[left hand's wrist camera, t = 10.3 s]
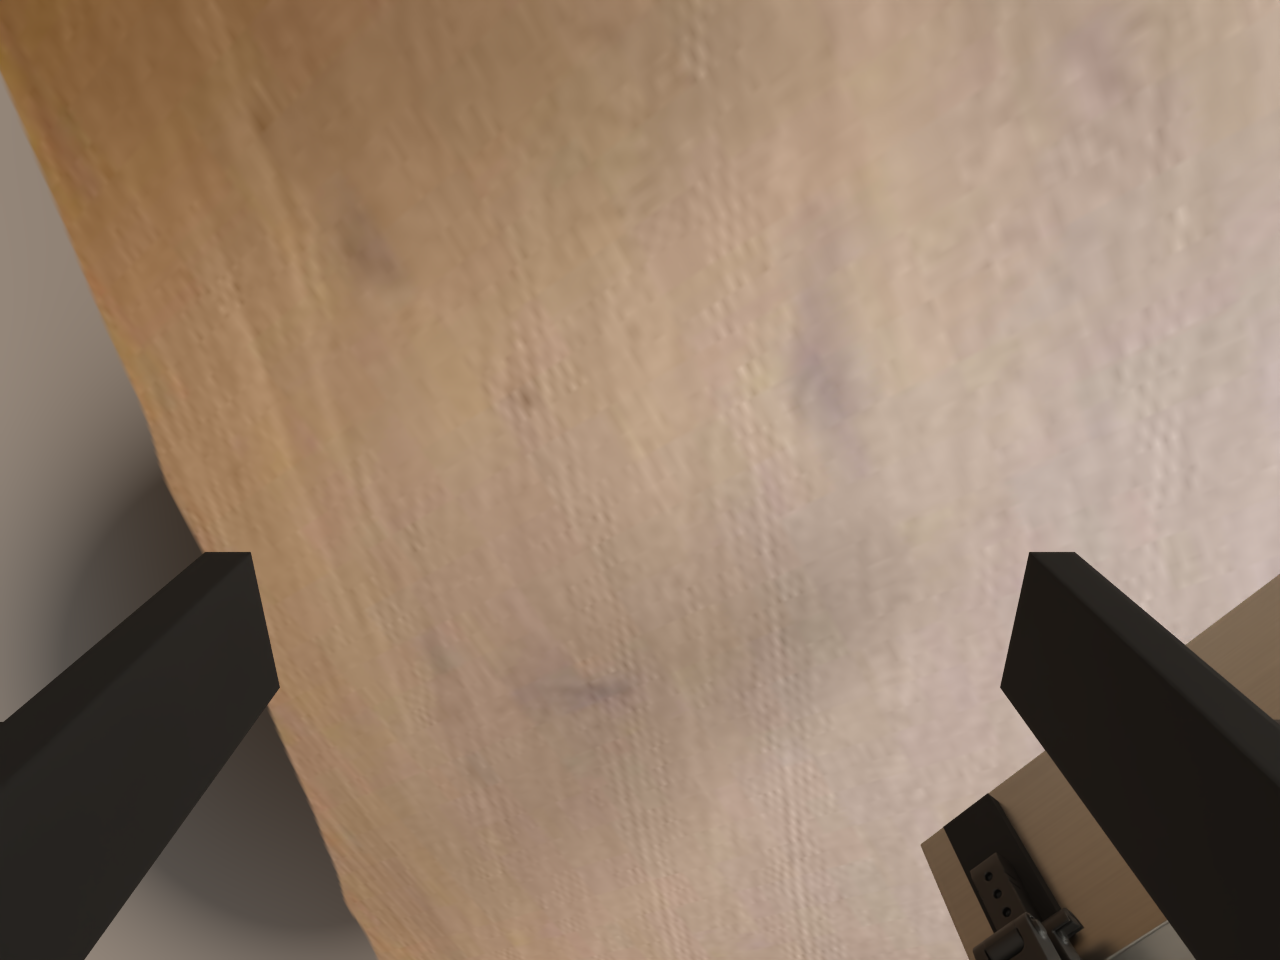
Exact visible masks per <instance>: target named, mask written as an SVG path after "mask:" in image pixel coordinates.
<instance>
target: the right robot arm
mask: <svg viewBox="0 0 1280 960" xmlns="http://www.w3.org/2000/svg"><path fill="white" fill-rule="evenodd" d="M943 828H944V830H945V832H946V834H947V836H948V839H949V841H950V843H951V845H952V847H953V849H954V851H955V853H956V855H957V857H958V859H959V862H960V864H961V866H962V868H963V870H964V872H965V874H966V876H967V878H968V880H969V882H970V885H971V887H972V889H973V891H974V893H975V895H976V897H977V899H978V901H979V903H980V905H981V908H982V910H983V912H984V914H985V916H986V918H987V920H988V922H989V924H990V926H991V929H992V931H993V933H994V934H992V935H991V936H989V937H988V938H986V939H985V940H984V941H982V942H981V943H980V944H978V945H977V946H975V947H974V948H973V954H974V957H975V960H1081V958H1080V956H1079V955H1078V953H1077V952H1076V950H1075V949H1074V947H1073V946H1072V944H1071V943H1070V941H1069V938H1070V937H1071V936H1073V935H1074V934H1076V933H1077V932H1079V931H1081V930H1082V929H1084V927H1083V925H1082V924H1081V923H1080V921H1079V920H1078V919H1077V918H1076V917H1075V915H1074V914H1073V913H1072V912H1071V911H1070V910H1068V909H1067V908H1062V909H1061V907H1060V906H1059V904H1058V902H1057V901H1056V899H1055V897H1054V895H1053V894H1052V892H1051V890H1050V889H1049V887H1048V885H1047V884H1046V882H1045V880H1044V878H1043V877H1042V875H1041V873H1040V872H1039V870H1038V868H1037V867H1036V865H1035V863H1034V861H1033V860H1032V858H1031V856H1030V855H1029V853H1028V851H1027V850H1026V848H1025V846H1024V844H1023V843H1022V841H1021V839H1020V838H1019V836H1018V834H1017V833H1016V831H1015V829H1014V827H1013V826H1012V824H1011V822H1010V821H1009V819H1008V817H1007V816H1006V814H1005V812H1004V810H1003V809H1002V807H1001V805H1000V804H999V802H998V801H997V800H996V799H995V798H993V797H992V796H991V795H990V794H986V795H985V796H984V797H982V798H981V799H980V800H978V801H977V802H976V803H974V804H973V805H972V806H970V807H969V808H968V809H966V810H965V811H964V812H962V813H961V814H960V815H959V816H957V817H956V818H955V819H953V820H952V821H951V822H949V823H948V824H947V825H945V826H944V827H943Z"/></svg>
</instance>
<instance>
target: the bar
mask: <svg viewBox="0 0 1280 960" xmlns="http://www.w3.org/2000/svg"><path fill="white" fill-rule="evenodd" d="M1186 646H1187V647H1188V648H1189V649H1190V650H1192V651H1193V652H1194V653H1195V654H1196V655H1198V656H1199V657H1200V658H1201V659H1202V660H1203V661H1205V662H1206V663H1207V664H1208V665H1209V666H1211V667H1212V668H1213V669H1214V670H1215V671H1217V672H1218V673H1219V674H1220V675H1221V676H1222V677H1224V678H1225V679H1226V680H1227V681H1228V682H1230V683H1231V684H1232V685H1233V686H1234V687H1236V688H1237V689H1238V690H1239V691H1240V692H1241V693H1243V694H1244V695H1245V696H1246V697H1247V698H1249V699H1250V700H1251V701H1252V702H1253V703H1255V704H1256V705H1257V706H1258V707H1259V708H1260V709H1262V710H1263V711H1264V712H1265V713H1266V714H1268V715H1269V716H1270V717H1271V718H1272V719H1280V574H1279V575H1278V576H1276V577H1275V578H1274V579H1272V580H1271V581H1270V582H1269V583H1267V584H1266V585H1265V586H1263V587H1262V588H1261V589H1259V590H1258V591H1257V592H1255V593H1254V594H1253V595H1251V596H1250V597H1249V598H1247V599H1246V600H1245V601H1243V602H1242V603H1241V604H1239V605H1238V606H1237V607H1235V608H1234V609H1233V610H1231V611H1230V612H1229V613H1227V614H1226V615H1225V616H1223V617H1222V618H1221V619H1219V620H1218V621H1217V622H1215V623H1214V624H1213V625H1211V626H1210V627H1209V628H1207V629H1206V630H1205V631H1203V632H1202V633H1201V634H1199V635H1198V636H1197V637H1195V638H1194V639H1193V640H1191V641H1190V642H1189V643H1188V644H1186ZM988 794H990V795H991V796H992V797H993V798H995V799H996V800H997V801H998V802H999V804H1000V805H1001V807H1002V809H1003V810H1004V812H1005V814H1006V816H1007V817H1008V819H1009V821H1010V822H1011V824H1012V826H1013V827H1014V829H1015V831H1016V833H1017V834H1018V836H1019V838H1020V839H1021V841H1022V843H1023V844H1024V846H1025V848H1026V850H1027V851H1028V853H1029V855H1030V856H1031V858H1032V860H1033V861H1034V863H1035V865H1036V867H1037V868H1038V870H1039V872H1040V873H1041V875H1042V877H1043V878H1044V880H1045V882H1046V884H1047V885H1048V887H1049V889H1050V890H1051V892H1052V894H1053V895H1054V897H1055V899H1056V901H1057V902H1058V904H1059V906H1060V907H1061V909H1062V908H1067V909H1068V910H1070V911H1071V912H1072V913H1073V914H1074V915H1075V917H1076V918H1077V919H1078V920H1079V921H1080V923H1081V924H1082V925H1083V927H1084V929H1082V930H1081V931H1079V932H1077V933H1076V934H1074V935H1073V936H1071V937H1070V938H1069V941H1070V943H1071V944H1072V946H1073V947H1074V949H1075V950H1076V952H1077V953H1078V955H1079V956H1080V958H1081V960H1196V959H1195V958H1194V957H1193V955H1192V954H1191V952H1190V951H1189V950H1188V948H1187V947H1186V945H1185V944H1184V943H1183V941H1182V940H1181V938H1180V937H1179V936H1178V934H1177V933H1176V932H1175V930H1174V929H1173V927H1172V926H1171V925H1170V923H1169V922H1168V920H1167V919H1166V918H1165V916H1164V915H1163V913H1162V912H1161V911H1160V909H1159V908H1158V906H1157V905H1156V904H1155V902H1154V901H1153V899H1152V898H1151V897H1150V895H1149V894H1148V893H1147V891H1146V890H1145V888H1144V887H1143V886H1142V884H1141V883H1140V881H1139V880H1138V879H1137V877H1136V876H1135V874H1134V873H1133V872H1132V870H1131V869H1130V867H1129V866H1128V865H1127V863H1126V862H1125V861H1124V859H1123V858H1122V856H1121V855H1120V854H1119V852H1118V851H1117V849H1116V848H1115V847H1114V845H1113V844H1112V842H1111V841H1110V840H1109V838H1108V837H1107V835H1106V834H1105V833H1104V831H1103V830H1102V828H1101V827H1100V826H1099V824H1098V823H1097V822H1096V820H1095V819H1094V817H1093V816H1092V815H1091V813H1090V812H1089V810H1088V809H1087V808H1086V806H1085V805H1084V803H1083V802H1082V801H1081V799H1080V798H1079V796H1078V795H1077V794H1076V792H1075V791H1074V790H1073V788H1072V787H1071V785H1070V784H1069V783H1068V781H1067V780H1066V778H1065V777H1064V776H1063V774H1062V773H1061V771H1060V770H1059V769H1058V767H1057V766H1056V764H1055V763H1054V762H1053V760H1052V759H1051V757H1050V756H1049V755H1048V753H1047V752H1046V751H1044V752H1043V753H1041V754H1040V755H1039V756H1037V757H1036V758H1035V759H1033V760H1032V761H1031V762H1029V763H1028V764H1027V765H1025V766H1024V767H1023V768H1022V769H1020V770H1019V771H1018V772H1016V773H1015V774H1014V775H1012V776H1011V777H1010V778H1008V779H1007V780H1006V781H1004V782H1003V783H1002V784H1000V785H999V786H998V787H996V788H995V789H994V790H992V791H991V792H990V793H988ZM921 847H922V850H923V852H924V854H925V857H926V859H927V861H928V864H929V866H930V869H931V871H932V873H933V876H934V878H935V880H936V883H937V885H938V887H939V890H940V892H941V894H942V897H943V899H944V901H945V904H946V906H947V908H948V911H949V913H950V916H951V918H952V920H953V923H954V925H955V927H956V930H957V932H958V934H959V937H960V939H961V941H962V944H963V946H964V948H965V951H966V953H967V955H968V958H969V960H975V957H974V954H973V948H974V947H975V946H977V945H978V944H980V943H981V942H982V941H984V940H985V939H986V938H988V937H989V936H991V935H992V934H994V933H993V931H992V929H991V926H990V924H989V922H988V920H987V918H986V916H985V914H984V912H983V910H982V908H981V905H980V903H979V901H978V899H977V897H976V895H975V893H974V891H973V889H972V887H971V885H970V882H969V880H968V878H967V876H966V874H965V872H964V870H963V868H962V866H961V864H960V862H959V859H958V857H957V855H956V853H955V851H954V849H953V847H952V845H951V843H950V841H949V839H948V836H947V834H946V832H945V830H944V828H942V829H940V830H939V831H938V832H937V833H935V834H934V835H933V836H931V837H930V838H929V839H927V840H926V841H925V842H923V843H922V844H921Z"/></svg>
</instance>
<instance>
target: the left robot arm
mask: <svg viewBox="0 0 1280 960" xmlns="http://www.w3.org/2000/svg"><path fill="white" fill-rule="evenodd" d="M279 688H280V686H279V681H278V677H277V672H276V667H275V663H274V658H273V654H272V649H271V644H270V640H269V635H268V630H267V626H266V621H265V616H264V612H263V607H262V602H261V598H260V593H259V589H258V584H257V579H256V575H255V570H254V565H253V561H252V556H251V552H205V553H204V554H202V555H201V556H200V557H199V558H198V559H196V560H195V561H194V562H193V563H192V564H191V565H189V566H188V567H187V568H186V569H185V570H183V571H182V572H181V573H180V574H179V575H177V576H176V577H175V578H174V579H173V580H172V581H170V582H169V583H168V584H167V585H166V586H165V587H163V588H162V589H161V590H160V591H159V592H157V593H156V594H155V595H154V596H153V597H151V598H150V599H149V600H148V601H147V602H145V603H144V604H143V605H142V606H141V607H140V608H138V609H137V610H136V611H135V612H134V613H132V614H131V615H130V616H129V617H128V618H126V619H125V620H124V621H123V622H122V623H121V624H119V625H118V626H117V627H116V628H115V629H113V630H112V631H111V632H110V633H109V634H107V635H106V636H105V637H104V638H103V639H102V640H100V641H99V642H98V643H97V644H96V645H94V646H93V647H92V648H91V649H90V650H89V651H87V652H86V653H85V654H84V655H82V656H81V657H80V658H79V659H78V660H77V661H75V662H74V663H73V664H72V665H71V666H69V667H68V668H67V669H66V670H65V671H63V672H62V673H61V674H60V675H59V676H58V677H56V678H55V679H54V680H53V681H52V682H50V683H49V684H48V685H47V686H46V687H45V688H43V689H42V690H41V691H40V692H39V693H37V694H36V695H35V696H34V697H33V698H31V699H30V700H29V701H28V702H27V703H26V704H24V705H23V706H22V707H21V708H20V709H18V710H17V711H16V712H15V713H14V714H12V715H11V716H10V717H9V718H8V719H6V720H5V721H4V722H0V960H84V959H85V958H86V957H87V955H88V954H89V952H90V951H91V950H92V948H93V947H94V945H95V944H96V943H97V941H98V940H99V938H100V937H101V936H102V934H103V933H104V932H105V930H106V929H107V927H108V926H109V925H110V923H111V922H112V920H113V919H114V918H115V916H116V915H117V913H118V912H119V911H120V909H121V908H122V906H123V905H124V904H125V902H126V901H127V899H128V898H129V897H130V895H131V894H132V892H133V891H134V890H135V888H136V887H137V886H138V884H139V883H140V881H141V880H142V879H143V877H144V876H145V874H146V873H147V872H148V870H149V869H150V867H151V866H152V865H153V863H154V862H155V860H156V859H157V858H158V856H159V855H160V854H161V852H162V851H163V849H164V848H165V847H166V845H167V844H168V842H169V841H170V840H171V838H172V837H173V835H174V834H175V833H176V831H177V830H178V828H179V827H180V826H181V824H182V823H183V822H184V820H185V819H186V817H187V816H188V815H189V813H190V812H191V810H192V809H193V807H194V806H195V805H196V803H197V802H198V801H199V799H200V798H201V796H202V795H203V794H204V792H205V791H206V790H207V788H208V787H209V785H210V784H211V783H212V781H213V780H214V778H215V777H216V776H217V774H218V773H219V771H220V770H221V769H222V767H223V766H224V764H225V763H226V762H227V760H228V759H229V757H230V756H231V755H232V753H233V752H234V750H235V749H236V748H237V746H238V745H239V744H240V742H241V741H242V739H243V738H244V737H245V735H246V734H247V732H248V731H249V730H250V728H251V727H252V725H253V724H254V723H255V721H256V720H257V719H258V717H259V716H260V714H261V713H262V712H263V710H264V709H265V707H266V706H267V705H268V703H269V702H270V700H271V699H272V698H273V696H274V695H275V693H276V692H277V691H278V689H279ZM1000 688H1001V689H1002V691H1003V692H1004V693H1005V695H1006V696H1007V698H1008V699H1009V700H1010V702H1011V703H1012V705H1013V706H1014V707H1015V709H1016V710H1017V712H1018V713H1019V714H1020V716H1021V717H1022V719H1023V720H1024V721H1025V723H1026V724H1027V725H1028V727H1029V728H1030V730H1031V731H1032V732H1033V734H1034V735H1035V737H1036V738H1037V739H1038V741H1039V742H1040V744H1041V745H1042V746H1043V748H1044V749H1045V751H1046V752H1047V753H1048V755H1049V756H1050V757H1051V759H1052V760H1053V762H1054V763H1055V764H1056V766H1057V767H1058V769H1059V770H1060V771H1061V773H1062V774H1063V776H1064V777H1065V778H1066V780H1067V781H1068V783H1069V784H1070V785H1071V787H1072V788H1073V790H1074V791H1075V792H1076V794H1077V795H1078V796H1079V798H1080V799H1081V801H1082V802H1083V803H1084V805H1085V806H1086V808H1087V809H1088V810H1089V812H1090V813H1091V815H1092V816H1093V817H1094V819H1095V820H1096V822H1097V823H1098V824H1099V826H1100V827H1101V828H1102V830H1103V831H1104V833H1105V834H1106V835H1107V837H1108V838H1109V840H1110V841H1111V842H1112V844H1113V845H1114V847H1115V848H1116V849H1117V851H1118V852H1119V854H1120V855H1121V856H1122V858H1123V859H1124V861H1125V862H1126V863H1127V865H1128V866H1129V867H1130V869H1131V870H1132V872H1133V873H1134V874H1135V876H1136V877H1137V879H1138V880H1139V881H1140V883H1141V884H1142V886H1143V887H1144V888H1145V890H1146V891H1147V893H1148V894H1149V895H1150V897H1151V898H1152V899H1153V901H1154V902H1155V904H1156V905H1157V906H1158V908H1159V909H1160V911H1161V912H1162V913H1163V915H1164V916H1165V918H1166V919H1167V920H1168V922H1169V923H1170V925H1171V926H1172V927H1173V929H1174V930H1175V932H1176V933H1177V934H1178V936H1179V937H1180V938H1181V940H1182V941H1183V943H1184V944H1185V945H1186V947H1187V948H1188V950H1189V951H1190V952H1191V954H1192V955H1193V957H1194V958H1195V959H1196V960H1280V719H1272V718H1271V717H1270V716H1269V715H1268V714H1266V713H1265V712H1264V711H1263V710H1262V709H1260V708H1259V707H1258V706H1257V705H1256V704H1255V703H1253V702H1252V701H1251V700H1250V699H1249V698H1247V697H1246V696H1245V695H1244V694H1243V693H1241V692H1240V691H1239V690H1238V689H1237V688H1236V687H1234V686H1233V685H1232V684H1231V683H1230V682H1228V681H1227V680H1226V679H1225V678H1224V677H1222V676H1221V675H1220V674H1219V673H1218V672H1217V671H1215V670H1214V669H1213V668H1212V667H1211V666H1209V665H1208V664H1207V663H1206V662H1205V661H1203V660H1202V659H1201V658H1200V657H1199V656H1198V655H1196V654H1195V653H1194V652H1193V651H1192V650H1190V649H1189V648H1188V647H1187V646H1186V645H1184V644H1183V643H1182V642H1181V641H1180V640H1179V639H1177V638H1176V637H1175V636H1174V635H1173V634H1171V633H1170V632H1169V631H1168V630H1167V629H1165V628H1164V627H1163V626H1162V625H1161V624H1160V623H1158V622H1157V621H1156V620H1155V619H1154V618H1152V617H1151V616H1150V615H1149V614H1148V613H1146V612H1145V611H1144V610H1143V609H1142V608H1141V607H1139V606H1138V605H1137V604H1136V603H1135V602H1133V601H1132V600H1131V599H1130V598H1129V597H1127V596H1126V595H1125V594H1124V593H1123V592H1122V591H1120V590H1119V589H1118V588H1117V587H1116V586H1114V585H1113V584H1112V583H1111V582H1110V581H1108V580H1107V579H1106V578H1105V577H1104V576H1103V575H1101V574H1100V573H1099V572H1098V571H1097V570H1095V569H1094V568H1093V567H1092V566H1091V565H1089V564H1088V563H1087V562H1086V561H1085V560H1084V559H1082V558H1081V557H1080V556H1079V555H1078V554H1076V553H1075V552H1029V556H1028V561H1027V565H1026V570H1025V575H1024V579H1023V584H1022V589H1021V593H1020V598H1019V602H1018V607H1017V612H1016V616H1015V621H1014V626H1013V630H1012V635H1011V640H1010V644H1009V649H1008V654H1007V658H1006V663H1005V667H1004V672H1003V677H1002V681H1001V686H1000Z"/></svg>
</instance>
